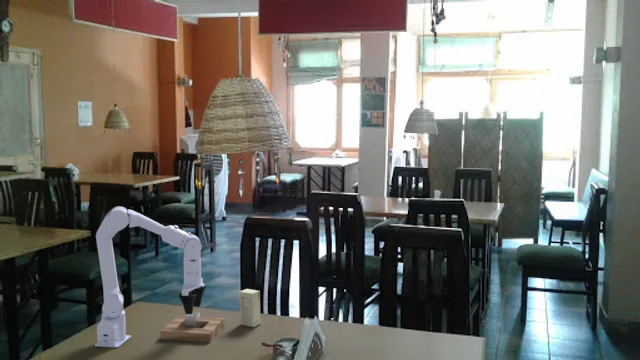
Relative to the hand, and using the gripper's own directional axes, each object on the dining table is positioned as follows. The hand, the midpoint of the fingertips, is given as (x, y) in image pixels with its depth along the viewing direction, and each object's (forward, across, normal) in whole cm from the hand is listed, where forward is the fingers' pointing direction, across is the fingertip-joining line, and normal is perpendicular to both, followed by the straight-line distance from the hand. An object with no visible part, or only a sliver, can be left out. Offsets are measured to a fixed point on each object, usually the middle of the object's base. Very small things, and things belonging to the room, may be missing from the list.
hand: (192, 310), depth 193 cm
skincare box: (+8, +11, -17) cm, 22 cm away
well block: (+8, 0, 0) cm, 8 cm away
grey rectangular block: (+7, 0, 0) cm, 7 cm away
